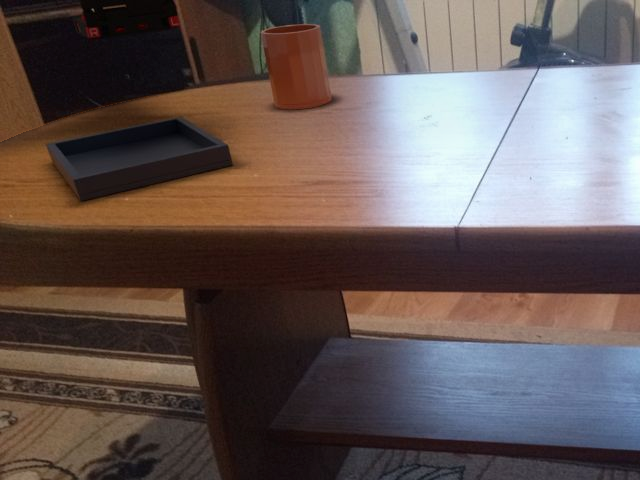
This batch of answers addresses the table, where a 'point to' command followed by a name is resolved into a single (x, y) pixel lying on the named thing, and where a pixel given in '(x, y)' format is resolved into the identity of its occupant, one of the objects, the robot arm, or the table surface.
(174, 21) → the handheld gaming console
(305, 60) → the terracotta cup
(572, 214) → the table surface
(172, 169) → the dark tray
